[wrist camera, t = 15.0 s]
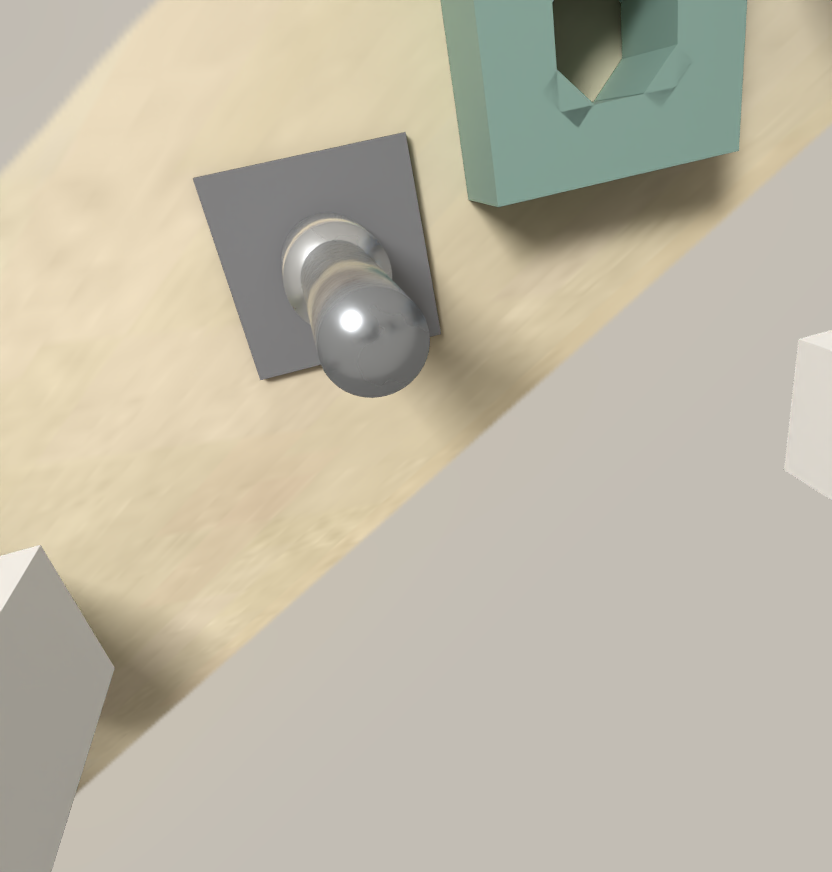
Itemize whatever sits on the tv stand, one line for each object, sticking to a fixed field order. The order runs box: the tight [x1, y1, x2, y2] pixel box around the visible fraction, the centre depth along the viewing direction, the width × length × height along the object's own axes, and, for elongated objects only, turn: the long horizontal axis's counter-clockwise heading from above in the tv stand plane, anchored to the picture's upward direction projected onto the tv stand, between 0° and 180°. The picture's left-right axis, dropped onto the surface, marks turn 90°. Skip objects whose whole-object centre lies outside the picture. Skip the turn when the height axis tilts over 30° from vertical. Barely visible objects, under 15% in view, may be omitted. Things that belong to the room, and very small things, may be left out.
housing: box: [441, 0, 747, 207], centre depth 29 cm, size 13×13×5 cm
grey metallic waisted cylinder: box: [281, 213, 430, 398], centre depth 26 cm, size 5×5×16 cm
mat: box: [193, 132, 441, 380], centre depth 33 cm, size 11×11×1 cm
